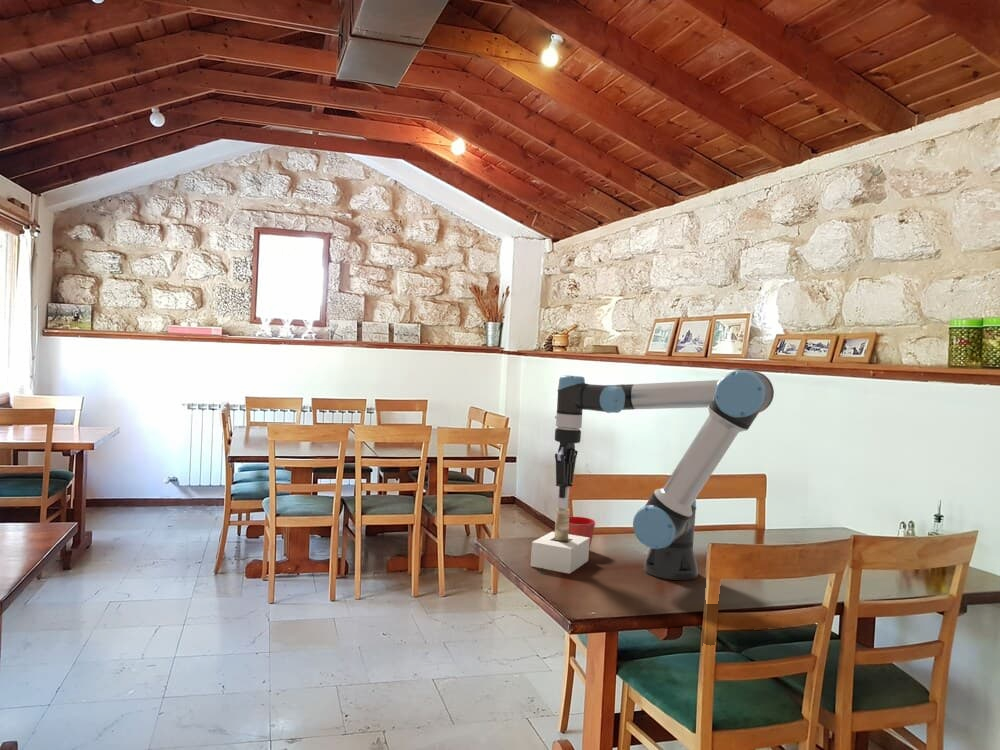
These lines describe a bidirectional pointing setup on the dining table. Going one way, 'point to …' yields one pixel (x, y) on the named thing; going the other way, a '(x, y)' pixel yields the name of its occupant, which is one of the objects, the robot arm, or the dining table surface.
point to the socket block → (560, 553)
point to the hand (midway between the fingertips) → (562, 508)
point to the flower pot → (581, 527)
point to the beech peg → (562, 525)
